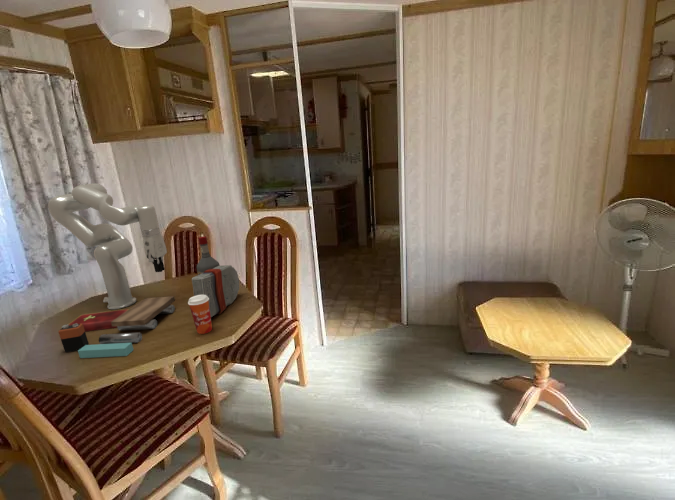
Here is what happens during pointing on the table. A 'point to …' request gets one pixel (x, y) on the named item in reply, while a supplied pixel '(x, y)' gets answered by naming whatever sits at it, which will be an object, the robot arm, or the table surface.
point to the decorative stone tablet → (217, 287)
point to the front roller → (139, 326)
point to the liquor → (205, 257)
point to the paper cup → (201, 313)
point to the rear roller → (168, 310)
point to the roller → (120, 338)
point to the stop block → (105, 350)
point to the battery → (73, 337)
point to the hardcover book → (98, 320)
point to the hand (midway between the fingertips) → (160, 270)
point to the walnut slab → (143, 311)
